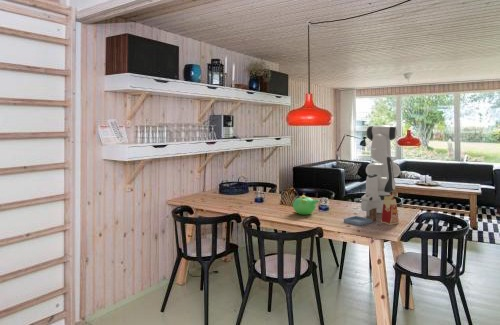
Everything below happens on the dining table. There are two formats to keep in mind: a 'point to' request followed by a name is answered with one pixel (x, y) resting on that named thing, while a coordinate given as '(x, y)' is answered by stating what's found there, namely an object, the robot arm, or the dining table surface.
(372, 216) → the walnut block
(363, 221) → the slate tray
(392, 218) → the milk carton
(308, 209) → the green teapot
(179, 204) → the dining table surface
